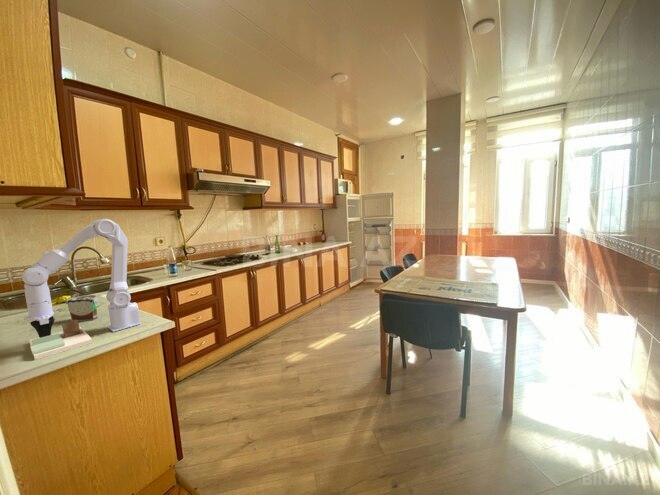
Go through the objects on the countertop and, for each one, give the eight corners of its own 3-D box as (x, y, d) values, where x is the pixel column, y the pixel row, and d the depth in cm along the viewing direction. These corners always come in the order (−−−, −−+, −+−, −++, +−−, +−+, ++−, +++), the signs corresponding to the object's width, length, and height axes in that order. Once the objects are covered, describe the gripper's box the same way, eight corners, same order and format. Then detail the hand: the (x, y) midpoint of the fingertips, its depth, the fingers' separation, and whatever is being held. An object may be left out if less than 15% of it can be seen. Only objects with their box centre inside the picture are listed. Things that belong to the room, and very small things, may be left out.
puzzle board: (81, 329, 108) (80, 326, 108) (92, 342, 96) (91, 339, 96) (29, 343, 97) (28, 339, 97) (34, 360, 85) (34, 355, 85)
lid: (61, 339, 96) (60, 332, 96) (65, 345, 91) (63, 337, 91) (30, 348, 90) (29, 340, 90) (32, 354, 85) (31, 346, 85)
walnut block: (78, 334, 104) (76, 319, 103) (80, 336, 102) (78, 321, 101) (64, 338, 101) (61, 322, 100) (66, 340, 98) (63, 325, 98)
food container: (107, 314, 125) (104, 294, 124) (96, 319, 119) (93, 298, 118) (80, 316, 125) (77, 295, 124) (68, 321, 119) (65, 299, 118)
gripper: (20, 301, 93) (26, 338, 95) (23, 309, 84) (30, 350, 86) (49, 296, 99) (55, 331, 100) (54, 303, 90) (61, 341, 91)
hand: (45, 339), depth 94 cm, fingers closed
